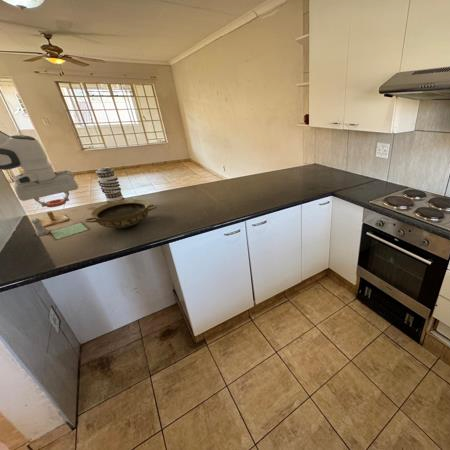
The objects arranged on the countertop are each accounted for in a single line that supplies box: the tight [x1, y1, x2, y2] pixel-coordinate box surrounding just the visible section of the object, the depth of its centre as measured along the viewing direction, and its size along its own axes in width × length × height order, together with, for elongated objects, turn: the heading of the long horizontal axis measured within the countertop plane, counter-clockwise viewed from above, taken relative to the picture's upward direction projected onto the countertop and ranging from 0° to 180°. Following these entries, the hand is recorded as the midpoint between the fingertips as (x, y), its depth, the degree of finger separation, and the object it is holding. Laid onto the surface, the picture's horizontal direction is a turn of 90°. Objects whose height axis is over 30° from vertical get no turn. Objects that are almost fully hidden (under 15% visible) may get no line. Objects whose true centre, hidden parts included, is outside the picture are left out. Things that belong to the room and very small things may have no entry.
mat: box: [50, 222, 89, 240], centre depth 121 cm, size 12×12×1 cm
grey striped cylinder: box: [95, 166, 125, 204], centre depth 138 cm, size 9×9×25 cm
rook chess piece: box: [30, 217, 50, 237], centre depth 117 cm, size 4×4×8 cm
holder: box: [40, 210, 69, 228], centre depth 129 cm, size 10×10×6 cm
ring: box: [45, 198, 67, 208], centre depth 114 cm, size 7×7×1 cm
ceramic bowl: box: [84, 198, 157, 229], centre depth 124 cm, size 30×24×10 cm
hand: (56, 203), depth 114 cm, fingers closed on ring, 7 cm apart
